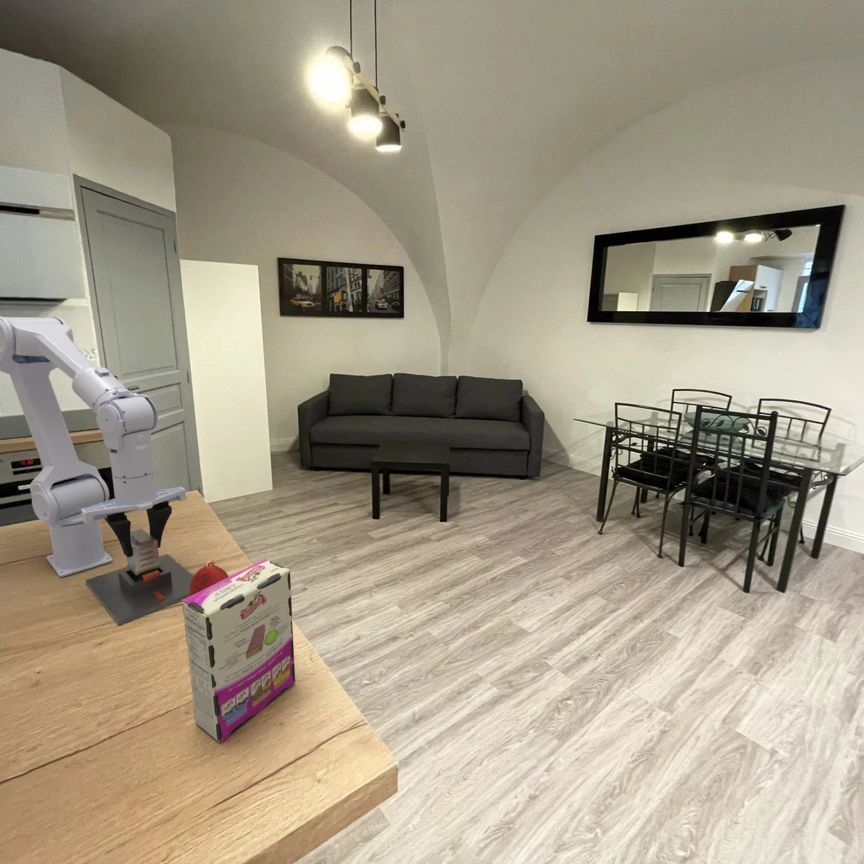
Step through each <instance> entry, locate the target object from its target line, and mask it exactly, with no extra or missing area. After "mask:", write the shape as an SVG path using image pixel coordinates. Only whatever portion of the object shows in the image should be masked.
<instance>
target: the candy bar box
mask: <svg viewBox="0 0 864 864" xmlns="http://www.w3.org/2000/svg"><path fill="white" fill-rule="evenodd" d="M291 584H292V583H291V569H290V568H287V567H285V566H282V565H279V564H277V563H276V562H272V561H271V560H270V559H266V558H265V559H262V560H260V561H258V562H256V563H254V564H252V565H250V566H248V567H246V568H243V569H241V570H240V571H238V572H236V573H234V574H232V575H230V576H229V577H228V578H226V579H224V580H222V581H220V582H218V583H216V584H214V585H212V586H210V587H208V588H206V589H204V590H202V591H200V592H198V593H196V594H194V595H192V596H190V597H188V598H186V599H184V600H182V601H181V602H182V611H183V621H184V628H185V637H186V638H185V639H186V646H187V655H188V663H189V664H188V665H189V674H190V676H189V677H190V682H191V692H192V702H193V711H194V720H195V724H196V725H197V726H198V727H199V728H200V729H201V730H202V731H204V732H206V733H207V734H208V735H209V736H210V737H211V738H213V739H214V740H215V741H217V742H218V743H219V744H221V743H222V742H224V741H225V740H226V739H228V738H229V737H230V736H231V735H233V733H235V732H236V731H238V730H239V729H240V728H241V727H242V726H243V725H245V724H246V723H248V722H249V721H250V720H251V719H252V718H254V717H255V716H256V715H257V714H258V713H260V712H261V711H262V710H263V709H265V708H266V707H267V706H269V705H270V704H271V703H272V702H273V701H274V700H275V699H277V698H278V697H280V695H282V694H283V693H284V692H286V690H288V689H289V688H291V687H292V686H293V685H294V684H295V683H296V671H295V652H294V647H295V646H294V632H293V630H294V629H293V611H292V610H293V609H292V608H293V607H292V604H293V603H292V585H291Z"/></svg>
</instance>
